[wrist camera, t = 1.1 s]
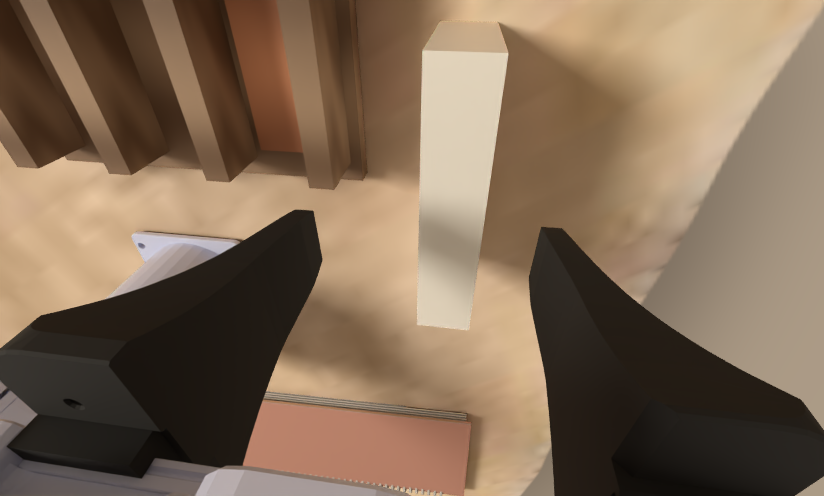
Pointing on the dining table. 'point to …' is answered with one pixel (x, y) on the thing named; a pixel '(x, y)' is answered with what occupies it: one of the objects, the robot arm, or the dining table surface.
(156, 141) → the rack
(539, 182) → the dining table surface
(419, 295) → the block
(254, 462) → the notebook
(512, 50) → the dining table surface
